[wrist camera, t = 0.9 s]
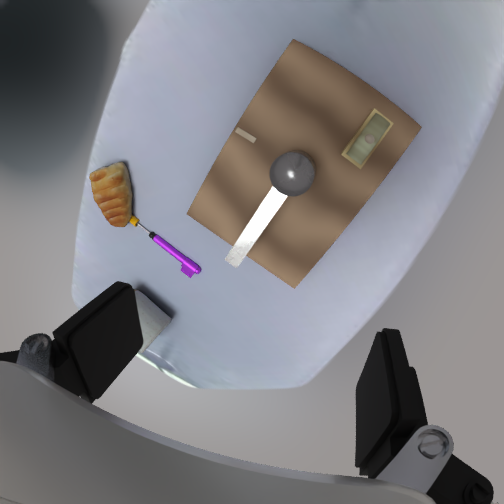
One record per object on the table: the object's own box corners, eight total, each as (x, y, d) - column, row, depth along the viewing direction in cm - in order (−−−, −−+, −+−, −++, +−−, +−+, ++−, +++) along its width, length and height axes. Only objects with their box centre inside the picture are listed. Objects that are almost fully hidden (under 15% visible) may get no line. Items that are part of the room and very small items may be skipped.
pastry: (144, 220, 39) (128, 229, 36) (112, 227, 42) (96, 235, 38) (127, 157, 36) (109, 161, 33) (96, 170, 38) (78, 175, 35)
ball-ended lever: (291, 142, 28) (284, 144, 24) (323, 164, 28) (322, 170, 24) (227, 239, 34) (213, 254, 31) (255, 258, 35) (245, 276, 31)
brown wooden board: (295, 43, 25) (289, 30, 21) (416, 127, 26) (430, 127, 21) (193, 209, 37) (175, 221, 32) (296, 280, 37) (291, 301, 33)
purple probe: (203, 267, 40) (120, 202, 40) (198, 272, 39) (114, 205, 39) (197, 277, 42) (117, 214, 41) (192, 282, 41) (112, 217, 40)
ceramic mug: (139, 278, 44) (111, 304, 37) (178, 311, 45) (154, 341, 38) (121, 312, 49) (97, 336, 43) (154, 340, 50) (133, 368, 43)
